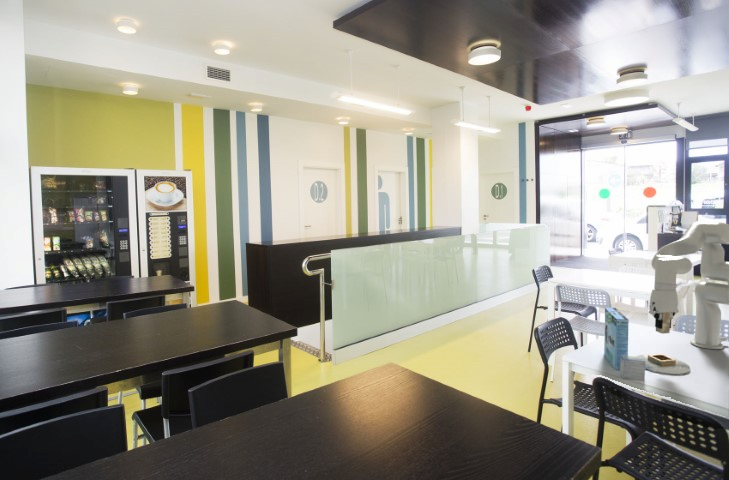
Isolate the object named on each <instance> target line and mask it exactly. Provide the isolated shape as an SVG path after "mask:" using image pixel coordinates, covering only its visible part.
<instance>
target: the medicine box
mask: <svg viewBox="0 0 729 480" xmlns="http://www.w3.org/2000/svg"><path fill="white" fill-rule="evenodd" d="M619 373H620V376H621V378H622V379H623V380H629V381H641V382H644V381H645V380H646V379H645V377H646V375H645V374H646V369H645V360H644V359H643V358H642V357H636V356H631V355H628V356H621V363H620V370H619Z"/></svg>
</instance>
